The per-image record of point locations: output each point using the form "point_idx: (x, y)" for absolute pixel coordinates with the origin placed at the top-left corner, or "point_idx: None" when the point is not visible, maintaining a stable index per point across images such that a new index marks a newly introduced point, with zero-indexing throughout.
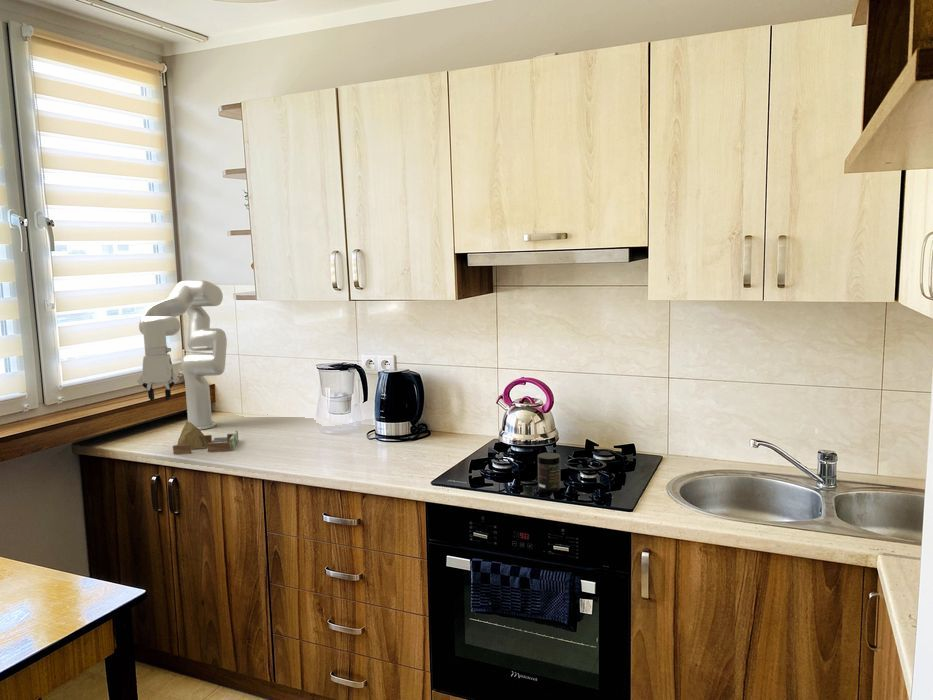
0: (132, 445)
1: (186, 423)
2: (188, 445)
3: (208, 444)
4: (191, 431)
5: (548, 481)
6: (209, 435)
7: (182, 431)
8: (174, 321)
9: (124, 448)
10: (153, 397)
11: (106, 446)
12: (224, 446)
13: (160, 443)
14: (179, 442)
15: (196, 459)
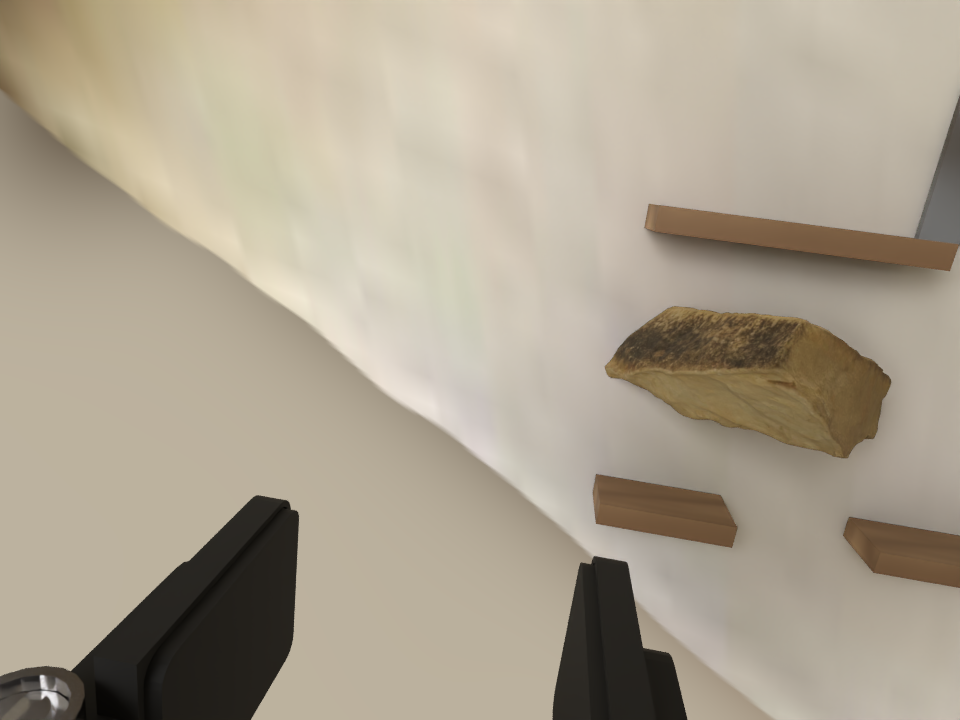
0: (230, 82)
1: (762, 372)
2: (719, 544)
3: (884, 571)
4: (785, 440)
5: None
6: (935, 262)
7: (690, 376)
8: None
9: (194, 169)
10: (274, 588)
11: (28, 37)
12: None
13: (454, 96)
14: (640, 382)
15: (753, 683)
